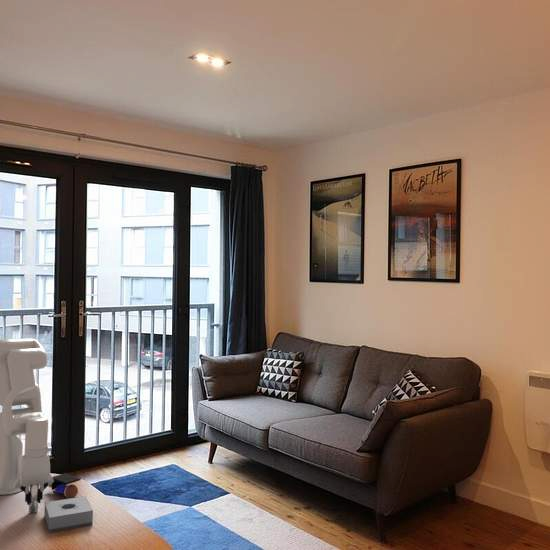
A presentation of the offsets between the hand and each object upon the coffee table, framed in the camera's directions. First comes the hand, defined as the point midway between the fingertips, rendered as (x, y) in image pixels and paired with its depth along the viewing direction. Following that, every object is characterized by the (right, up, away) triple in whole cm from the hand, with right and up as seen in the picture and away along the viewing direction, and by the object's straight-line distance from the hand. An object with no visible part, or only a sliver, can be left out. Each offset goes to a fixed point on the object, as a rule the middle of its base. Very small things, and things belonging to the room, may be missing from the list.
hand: (33, 502), depth 198 cm
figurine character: (+4, -4, +18) cm, 19 cm away
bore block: (+15, -4, -6) cm, 16 cm away
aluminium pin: (0, -3, 0) cm, 3 cm away
